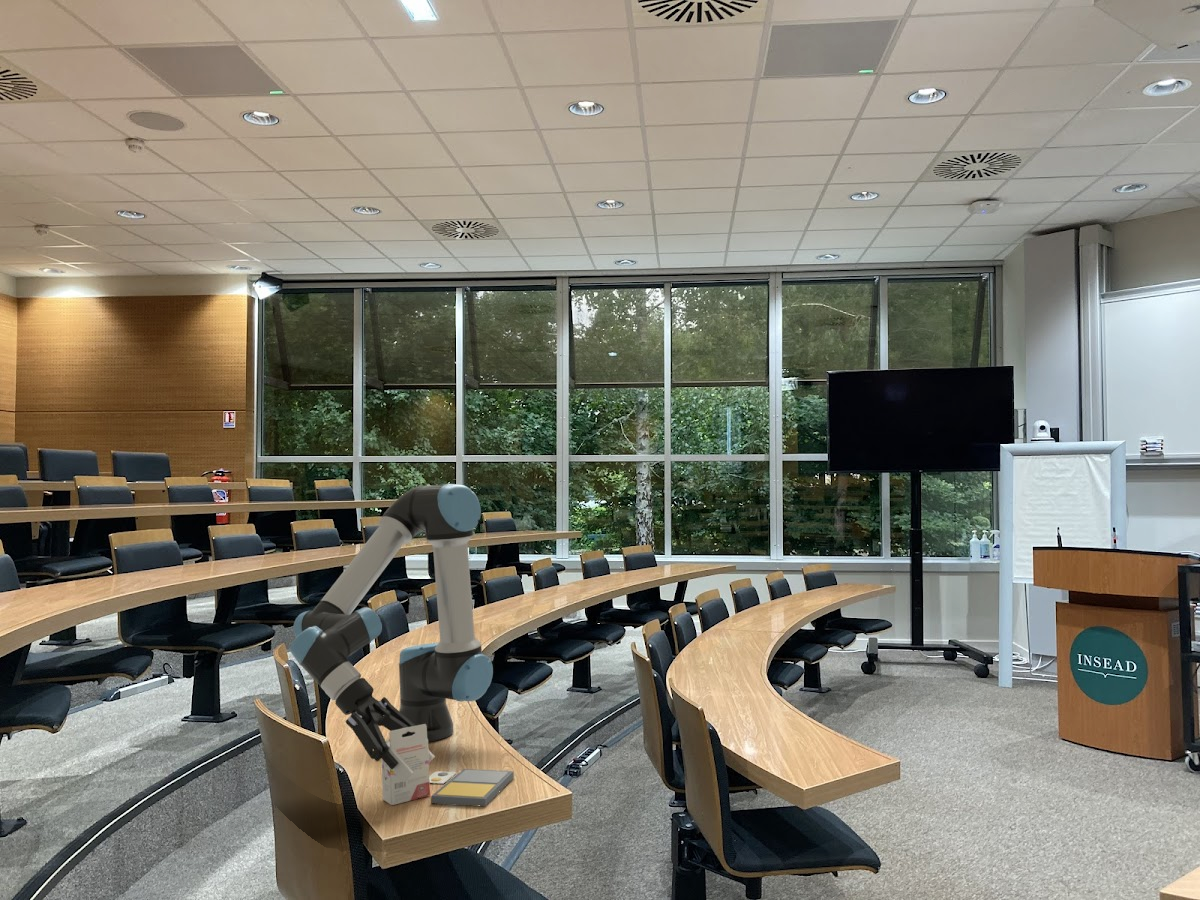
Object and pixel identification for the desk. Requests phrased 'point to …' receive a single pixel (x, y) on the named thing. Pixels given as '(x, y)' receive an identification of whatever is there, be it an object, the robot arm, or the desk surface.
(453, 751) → the desk surface
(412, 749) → the ink cartridge box
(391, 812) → the desk surface
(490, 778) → the pad board
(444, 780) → the pattern card
